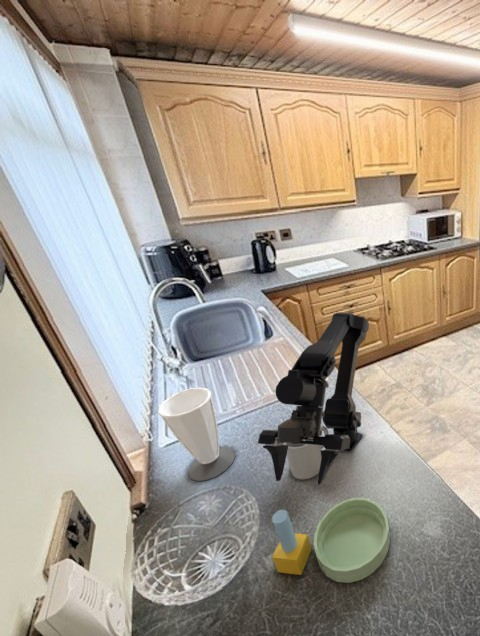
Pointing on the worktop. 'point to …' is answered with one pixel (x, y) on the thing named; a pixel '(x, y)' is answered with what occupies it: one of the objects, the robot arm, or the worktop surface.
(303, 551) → the sponge wand
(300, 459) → the mug
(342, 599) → the worktop surface
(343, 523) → the bowl
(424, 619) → the worktop surface
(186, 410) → the cup
